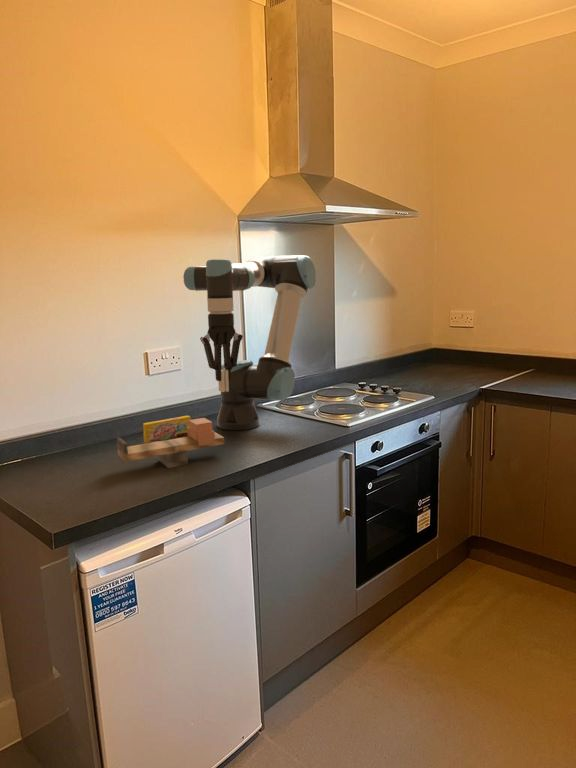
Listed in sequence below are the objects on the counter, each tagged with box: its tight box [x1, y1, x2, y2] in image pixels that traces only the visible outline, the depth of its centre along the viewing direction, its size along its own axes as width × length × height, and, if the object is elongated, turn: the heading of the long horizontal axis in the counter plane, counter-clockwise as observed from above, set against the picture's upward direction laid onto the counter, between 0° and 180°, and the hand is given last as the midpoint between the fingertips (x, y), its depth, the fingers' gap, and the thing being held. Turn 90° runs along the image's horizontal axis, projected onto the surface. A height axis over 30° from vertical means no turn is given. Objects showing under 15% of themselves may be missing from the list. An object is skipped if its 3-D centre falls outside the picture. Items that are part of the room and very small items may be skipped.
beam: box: [116, 431, 226, 469], centre depth 174 cm, size 30×8×9 cm, turn 120°
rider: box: [187, 417, 215, 446], centre depth 177 cm, size 5×9×6 cm, turn 30°
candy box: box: [142, 414, 192, 444], centre depth 192 cm, size 16×2×8 cm, turn 128°
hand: (223, 390), depth 179 cm, fingers closed
